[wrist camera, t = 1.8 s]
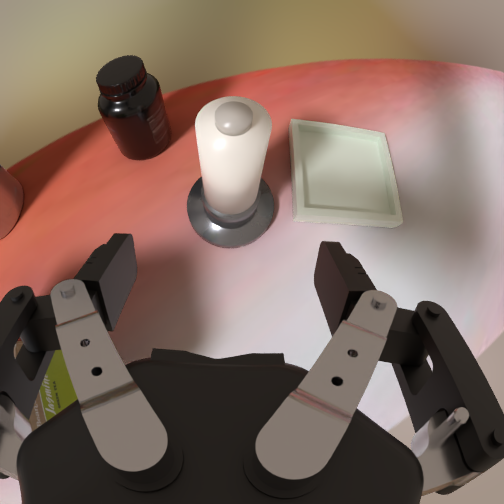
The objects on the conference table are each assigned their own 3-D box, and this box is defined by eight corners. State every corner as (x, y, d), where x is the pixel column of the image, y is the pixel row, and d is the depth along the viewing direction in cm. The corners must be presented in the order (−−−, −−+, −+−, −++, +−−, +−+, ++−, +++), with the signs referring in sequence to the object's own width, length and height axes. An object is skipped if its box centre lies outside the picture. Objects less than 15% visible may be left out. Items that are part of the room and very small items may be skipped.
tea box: (104, 339, 27) (14, 338, 13) (123, 431, 24) (54, 490, 10) (5, 345, 25) (-83, 338, 11) (20, 424, 23) (-60, 449, 8)
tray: (293, 221, 32) (297, 214, 30) (288, 128, 35) (291, 118, 33) (394, 228, 33) (403, 222, 31) (378, 141, 36) (384, 133, 34)
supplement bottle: (157, 111, 35) (139, 40, 23) (181, 143, 33) (167, 68, 22) (111, 137, 33) (79, 72, 22) (132, 172, 32) (97, 105, 20)
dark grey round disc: (184, 246, 30) (178, 234, 26) (192, 170, 32) (188, 150, 29) (272, 249, 31) (279, 237, 27) (271, 172, 33) (277, 153, 29)
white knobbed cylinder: (202, 213, 27) (189, 144, 17) (206, 167, 28) (198, 87, 18) (257, 215, 27) (274, 147, 17) (257, 168, 29) (272, 90, 18)
